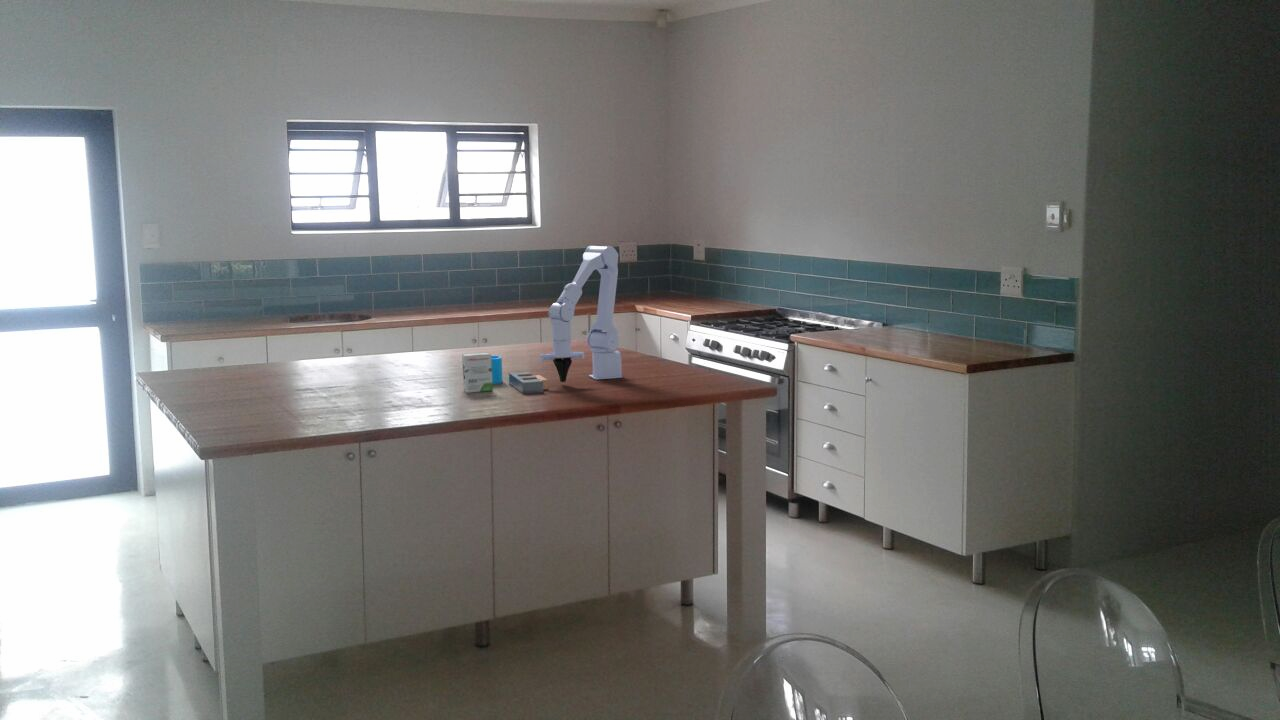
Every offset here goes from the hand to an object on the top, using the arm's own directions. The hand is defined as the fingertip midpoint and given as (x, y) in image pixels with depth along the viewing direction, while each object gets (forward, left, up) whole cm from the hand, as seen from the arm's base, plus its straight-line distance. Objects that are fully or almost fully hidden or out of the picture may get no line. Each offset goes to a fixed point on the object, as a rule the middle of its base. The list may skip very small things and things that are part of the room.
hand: (562, 381), depth 367 cm
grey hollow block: (+13, 0, -1) cm, 13 cm away
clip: (+10, 0, -1) cm, 10 cm away
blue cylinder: (+21, -18, -2) cm, 27 cm away
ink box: (+28, -1, -1) cm, 28 cm away
